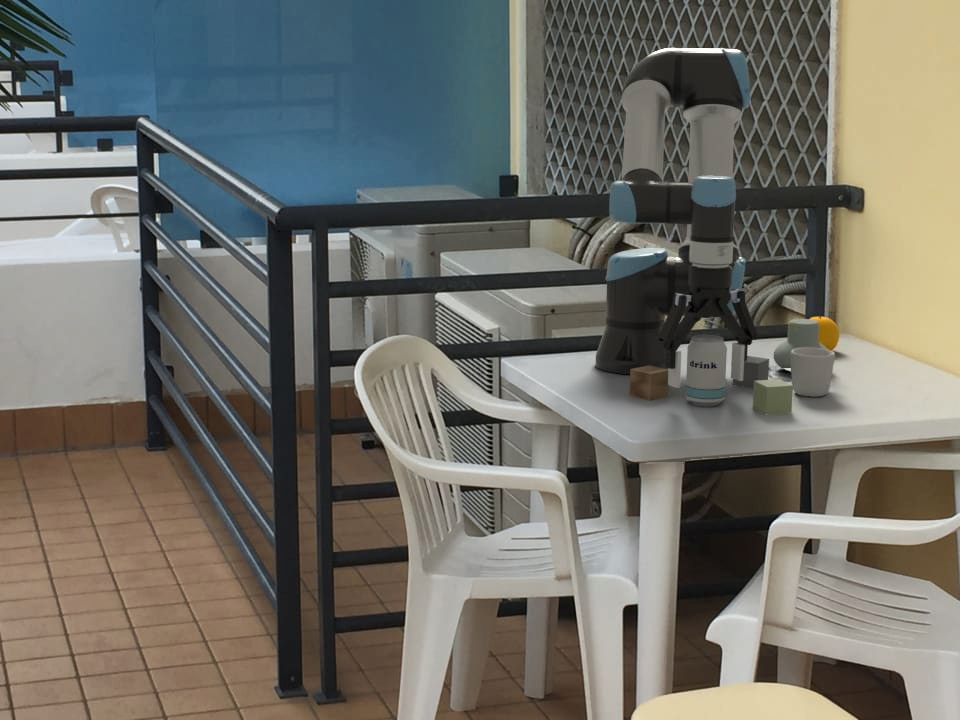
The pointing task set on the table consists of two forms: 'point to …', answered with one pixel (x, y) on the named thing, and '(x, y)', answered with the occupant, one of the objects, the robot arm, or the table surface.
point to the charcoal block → (753, 372)
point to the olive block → (772, 396)
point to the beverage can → (706, 370)
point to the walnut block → (649, 382)
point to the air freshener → (797, 340)
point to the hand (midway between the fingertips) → (705, 382)
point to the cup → (811, 371)
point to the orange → (827, 332)
